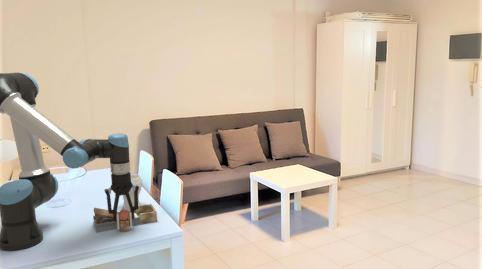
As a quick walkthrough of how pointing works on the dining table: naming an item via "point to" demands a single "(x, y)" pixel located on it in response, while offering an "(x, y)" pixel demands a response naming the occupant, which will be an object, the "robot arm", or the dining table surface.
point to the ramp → (102, 215)
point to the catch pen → (146, 213)
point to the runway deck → (113, 223)
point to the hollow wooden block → (124, 225)
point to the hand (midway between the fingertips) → (124, 227)
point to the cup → (135, 181)
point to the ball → (123, 215)
